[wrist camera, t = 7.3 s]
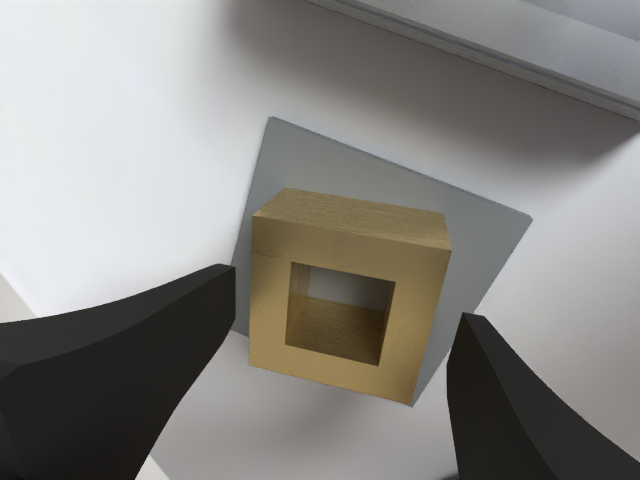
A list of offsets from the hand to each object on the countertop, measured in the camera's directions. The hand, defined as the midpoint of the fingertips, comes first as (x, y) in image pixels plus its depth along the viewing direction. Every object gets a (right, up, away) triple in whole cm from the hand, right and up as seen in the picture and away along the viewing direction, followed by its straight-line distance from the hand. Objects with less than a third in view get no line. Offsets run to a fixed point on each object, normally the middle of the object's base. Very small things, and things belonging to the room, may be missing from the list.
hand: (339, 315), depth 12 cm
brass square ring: (+1, +1, +2) cm, 2 cm away
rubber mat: (+1, +1, +2) cm, 3 cm away
